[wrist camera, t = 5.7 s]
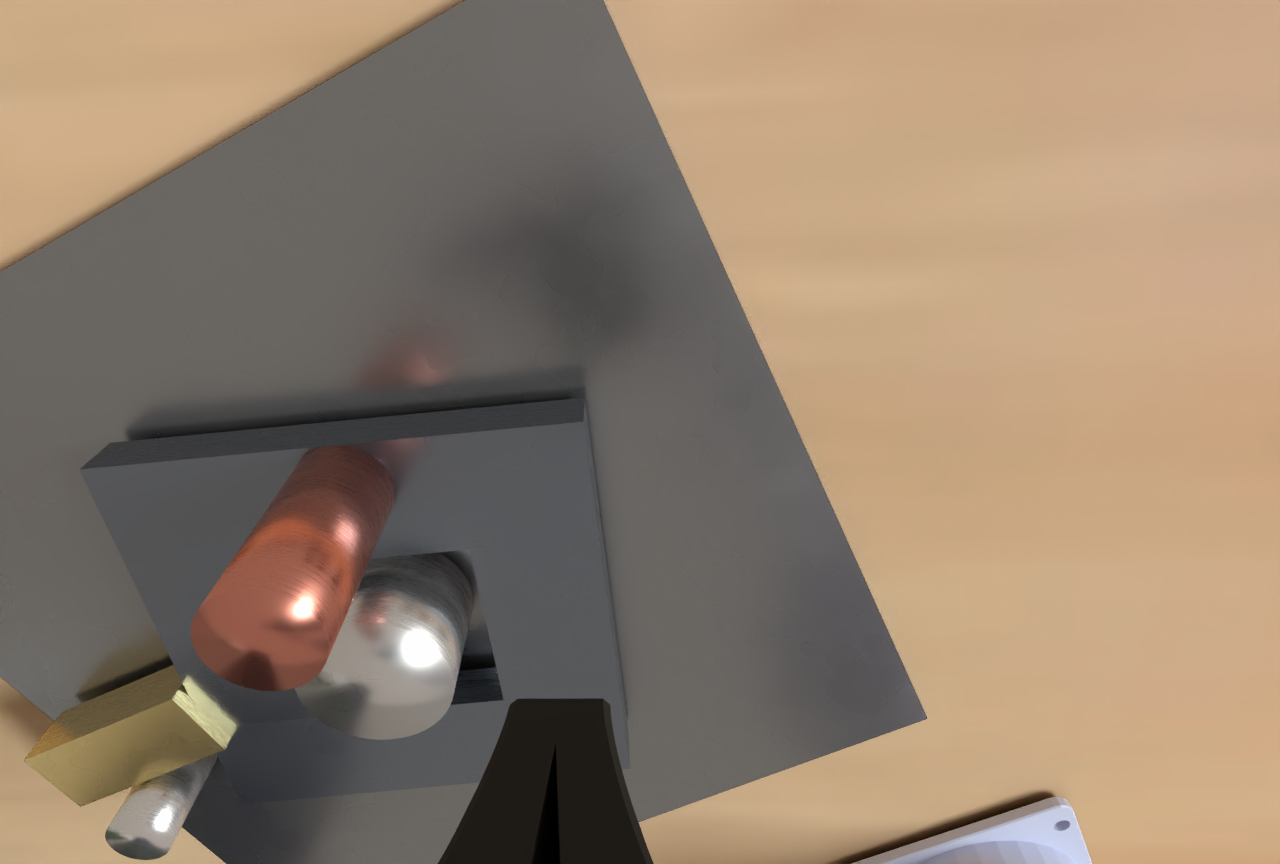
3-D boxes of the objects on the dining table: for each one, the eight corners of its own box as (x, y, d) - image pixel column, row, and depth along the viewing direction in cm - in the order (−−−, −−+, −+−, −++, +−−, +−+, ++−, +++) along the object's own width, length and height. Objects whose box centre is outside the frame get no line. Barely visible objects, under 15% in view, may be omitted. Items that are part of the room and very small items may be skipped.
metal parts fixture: (584, 397, 18) (576, 559, 13) (628, 733, 23) (635, 950, 18) (-89, 461, 18) (-378, 648, 13) (103, 782, 23) (-47, 1011, 18)
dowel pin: (229, 758, 23) (184, 847, 21) (185, 777, 24) (136, 866, 21) (191, 724, 23) (140, 812, 20) (147, 743, 23) (91, 832, 20)
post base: (923, 710, 24) (968, 807, 21) (319, 928, 28) (285, 1036, 25) (575, -62, 14) (566, -82, 11) (-274, 433, 18) (-442, 513, 15)
